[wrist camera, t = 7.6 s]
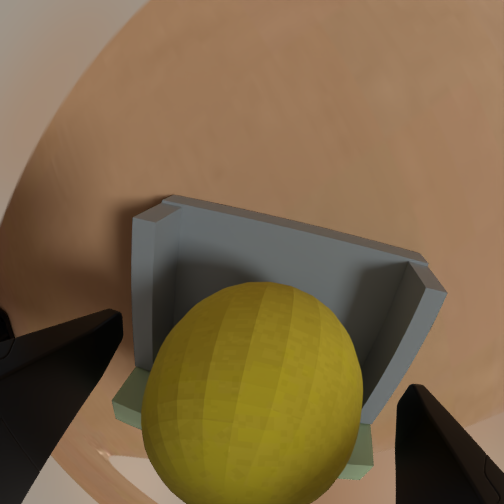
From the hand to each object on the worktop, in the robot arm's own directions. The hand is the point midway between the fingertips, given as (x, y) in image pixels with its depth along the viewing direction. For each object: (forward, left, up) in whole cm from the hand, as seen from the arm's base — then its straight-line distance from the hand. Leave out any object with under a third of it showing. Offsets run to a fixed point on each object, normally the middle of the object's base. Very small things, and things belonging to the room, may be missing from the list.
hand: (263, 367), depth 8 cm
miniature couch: (0, -1, -4) cm, 4 cm away
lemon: (0, 0, -3) cm, 3 cm away
